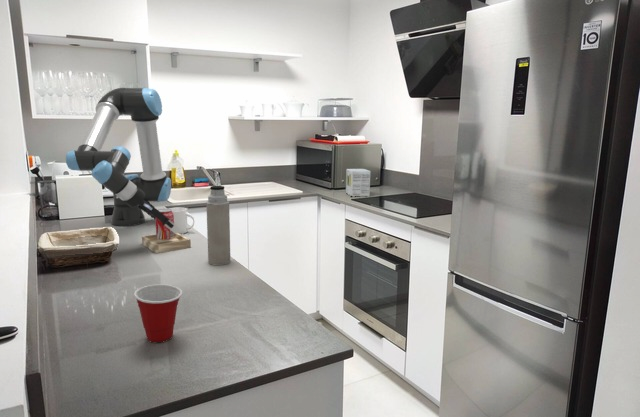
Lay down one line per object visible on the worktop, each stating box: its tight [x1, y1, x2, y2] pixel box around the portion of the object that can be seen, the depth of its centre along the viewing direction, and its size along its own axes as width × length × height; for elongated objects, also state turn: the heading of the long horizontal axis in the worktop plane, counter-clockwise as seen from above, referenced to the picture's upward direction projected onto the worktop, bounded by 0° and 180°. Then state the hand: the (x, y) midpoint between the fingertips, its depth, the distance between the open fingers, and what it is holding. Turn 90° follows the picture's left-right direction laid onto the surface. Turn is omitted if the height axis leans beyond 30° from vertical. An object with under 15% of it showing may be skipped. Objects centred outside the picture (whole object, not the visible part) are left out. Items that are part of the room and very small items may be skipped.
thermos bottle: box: [205, 185, 231, 266], centre depth 165 cm, size 8×8×28 cm
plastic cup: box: [133, 283, 183, 343], centre depth 110 cm, size 11×11×12 cm
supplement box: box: [345, 168, 371, 196], centre depth 308 cm, size 13×13×18 cm
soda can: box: [154, 208, 174, 241], centre depth 185 cm, size 7×7×12 cm
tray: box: [141, 233, 192, 254], centre depth 186 cm, size 16×14×3 cm
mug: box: [168, 206, 195, 235], centre depth 206 cm, size 9×12×11 cm
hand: (173, 229), depth 187 cm, fingers closed on soda can, 7 cm apart
